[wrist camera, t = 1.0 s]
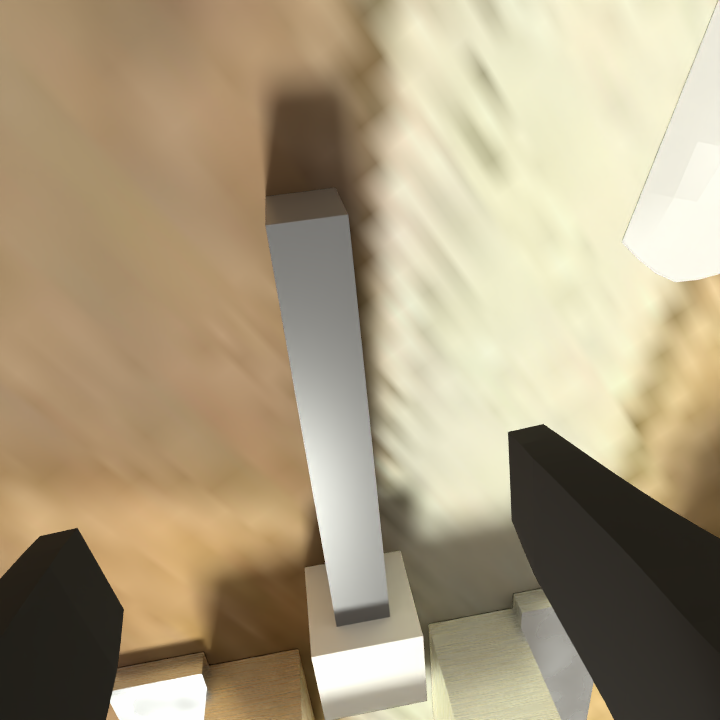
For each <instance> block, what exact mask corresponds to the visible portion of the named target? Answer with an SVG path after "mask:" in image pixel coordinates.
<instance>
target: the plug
mask: <svg viewBox="0 0 720 720" xmlns="http://www.w3.org/2000/svg"><path fill="white" fill-rule="evenodd" d="M265 225H266V231H267V237H268V242H269V248H270V254H271V259H272V265H273V271H274V276H275V282H276V288H277V293H278V299H279V305H280V310H281V316H282V322H283V327H284V333H285V338H286V344H287V350H288V355H289V361H290V367H291V372H292V378H293V384H294V389H295V395H296V401H297V406H298V412H299V418H300V423H301V429H302V434H303V440H304V446H305V451H306V457H307V463H308V468H309V474H310V480H311V485H312V491H313V497H314V502H315V508H316V514H317V519H318V525H319V531H320V536H321V542H322V547H323V553H324V559H325V564H322V565H316V566H311V567H305V578H306V592H307V605H308V619H309V632H310V646H311V658H312V663H313V667H314V672H315V676H316V681H317V685H318V690H319V695H320V699H321V704H322V708H323V713H324V717H325V720H334V719H339V718H344V717H349V716H354V715H359V714H364V713H369V712H374V711H379V710H384V709H389V708H394V707H399V706H404V705H409V704H414V703H419V702H424V701H427V691H426V675H425V659H424V643H423V634H422V630H421V626H420V622H419V619H418V615H417V611H416V607H415V604H414V600H413V596H412V592H411V588H410V585H409V581H408V577H407V573H406V570H405V566H404V562H403V558H402V554H401V551H395V552H389V553H383V543H382V534H381V524H380V514H379V505H378V495H377V486H376V476H375V466H374V457H373V447H372V438H371V428H370V418H369V409H368V399H367V390H366V380H365V371H364V361H363V351H362V342H361V332H360V323H359V313H358V303H357V294H356V284H355V275H354V265H353V255H352V246H351V236H350V227H349V217H348V213H347V211H346V209H345V207H344V205H343V202H342V200H341V198H340V196H339V194H338V192H337V190H336V188H328V189H320V190H312V191H304V192H297V193H289V194H281V195H273V196H266V224H265Z"/></svg>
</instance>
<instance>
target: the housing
mask: <svg viewBox="0 0 720 720" xmlns="http://www.w3.org/2000/svg"><path fill="white" fill-rule="evenodd" d="M428 625H429V643H430V661H431V680H432V698H433V717H434V720H587V715H588V709H589V703H590V698H591V692H592V687H593V680H592V678H591V676H590V674H589V672H588V671H587V669H586V667H585V665H584V664H583V662H582V660H581V658H580V656H579V655H578V653H577V651H576V649H575V647H574V646H573V644H572V642H571V640H570V638H569V637H568V635H567V633H566V631H565V630H564V628H563V626H562V624H561V622H560V621H559V619H558V617H557V615H556V613H555V612H554V610H553V608H552V606H551V604H550V603H549V601H548V599H547V597H546V595H545V593H544V592H543V590H542V589H537V590H531V591H526V592H521V593H515V594H514V595H513V608H511V609H506V610H501V611H496V612H490V613H485V614H480V615H475V616H469V617H464V618H459V619H453V620H448V621H443V622H438V623H432V624H428ZM110 703H111V705H112V707H113V709H114V711H115V713H116V714H117V716H118V718H119V720H315V718H314V714H313V709H312V705H311V701H310V697H309V692H308V688H307V684H306V680H305V675H304V671H303V667H302V663H301V658H300V654H299V650H298V649H295V650H290V651H285V652H280V653H274V654H269V655H264V656H259V657H253V658H248V659H243V660H238V661H232V662H227V663H222V664H216V665H211V666H209V665H208V662H207V659H206V657H205V654H204V652H201V653H196V654H191V655H186V656H180V657H175V658H170V659H164V660H159V661H154V662H148V663H143V664H138V665H132V666H127V667H122V668H117V674H116V678H115V683H114V687H113V692H112V696H111V700H110Z"/></svg>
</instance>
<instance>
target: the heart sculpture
mask: <svg viewBox="0 0 720 720" xmlns="http://www.w3.org/2000/svg"><path fill="white" fill-rule="evenodd" d="M622 243H623V244H624V245H625V246H626V247H627V248H628V249H629V250H630V251H631V252H632V253H633V254H634V255H635V256H636V258H637V259H638V260H640V261H641V262H642V263H643V264H645V265H646V266H647V267H648V268H650V269H651V270H652V271H654V272H655V273H656V274H658V275H661V276H663V277H665V278H667V279H669V280H671V281H674V282H681V281H690V280H699V279H703V278H706V277H710V276H714V275H717V274H720V0H718V3H717V5H716V8H715V10H714V13H713V15H712V18H711V20H710V23H709V25H708V28H707V30H706V33H705V35H704V38H703V40H702V43H701V45H700V48H699V50H698V53H697V55H696V58H695V60H694V63H693V65H692V68H691V70H690V73H689V75H688V78H687V80H686V83H685V85H684V88H683V90H682V93H681V95H680V98H679V100H678V103H677V105H676V108H675V110H674V113H673V115H672V118H671V120H670V123H669V125H668V128H667V130H666V133H665V135H664V138H663V140H662V143H661V145H660V148H659V150H658V153H657V155H656V158H655V160H654V163H653V166H652V168H651V171H650V173H649V176H648V178H647V181H646V183H645V186H644V188H643V191H642V193H641V196H640V198H639V201H638V203H637V206H636V208H635V211H634V213H633V216H632V218H631V221H630V223H629V226H628V228H627V231H626V233H625V236H624V238H623V241H622Z"/></svg>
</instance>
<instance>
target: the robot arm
mask: <svg viewBox="0 0 720 720" xmlns="http://www.w3.org/2000/svg"><path fill="white" fill-rule="evenodd" d="M508 441H509V465H510V489H511V514H512V522H513V524H514V527H515V529H516V532H517V534H518V537H519V539H520V542H521V544H522V547H523V549H524V552H525V554H526V556H527V559H528V561H529V563H530V566H531V568H532V570H533V573H534V575H535V577H536V579H537V581H538V582H539V584H540V586H541V588H542V590H543V592H544V593H545V595H546V597H547V599H548V601H549V603H550V604H551V606H552V608H553V610H554V612H555V613H556V615H557V617H558V619H559V621H560V622H561V624H562V626H563V628H564V630H565V631H566V633H567V635H568V637H569V638H570V640H571V642H572V644H573V646H574V647H575V649H576V651H577V653H578V655H579V656H580V658H581V660H582V662H583V664H584V665H585V667H586V669H587V671H588V672H589V674H590V676H591V678H592V680H593V681H594V683H595V685H596V687H597V689H598V690H599V692H600V694H601V696H602V697H603V699H604V701H605V703H606V705H607V707H608V709H609V711H610V713H611V714H612V716H613V718H614V720H720V539H719V538H718V537H716V536H714V535H712V534H711V533H709V532H707V531H706V530H704V529H702V528H700V527H699V526H697V525H695V524H693V523H692V522H690V521H688V520H687V519H685V518H683V517H681V516H680V515H678V514H677V513H675V512H673V511H672V510H670V509H668V508H667V507H665V506H664V505H662V504H660V503H659V502H657V501H656V500H654V499H653V498H651V497H650V496H648V495H647V494H645V493H643V492H642V491H640V490H639V489H637V488H636V487H634V486H633V485H631V484H630V483H628V482H626V481H625V480H624V479H622V478H621V477H619V476H618V475H616V474H615V473H613V472H612V471H610V470H609V469H607V468H606V467H604V466H603V465H601V464H600V463H599V462H597V461H596V460H594V459H593V458H591V457H590V456H588V455H587V454H586V453H584V452H583V451H581V450H580V449H578V448H577V447H576V446H574V445H573V444H571V443H570V442H568V441H567V440H566V439H564V438H563V437H561V436H560V435H558V434H557V433H555V432H554V431H553V430H551V429H550V428H548V427H547V426H545V425H544V424H542V425H538V426H533V427H529V428H524V429H520V430H515V431H511V432H508ZM123 612H124V609H123V607H122V605H121V604H120V602H119V600H118V598H117V597H116V595H115V593H114V591H113V590H112V588H111V586H110V584H109V583H108V581H107V579H106V577H105V576H104V574H103V572H102V570H101V569H100V567H99V565H98V563H97V562H96V560H95V558H94V556H93V554H92V553H91V551H90V549H89V547H88V546H87V544H86V542H85V540H84V539H83V537H82V535H81V533H80V532H79V530H78V528H75V529H71V530H66V531H62V532H57V533H53V534H48V535H44V536H40V537H39V538H38V539H37V540H36V541H35V542H34V543H33V544H32V545H31V546H30V547H29V548H28V549H27V550H26V551H25V552H24V553H23V554H22V555H21V556H20V558H19V559H18V560H17V561H16V562H15V563H14V564H13V565H12V566H11V567H10V569H9V570H8V571H7V572H6V573H5V574H4V575H3V576H2V577H1V579H0V720H106V717H107V713H108V709H109V704H110V700H111V696H112V692H113V687H114V683H115V678H116V674H117V667H118V659H119V651H120V643H121V633H122V622H123Z"/></svg>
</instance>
